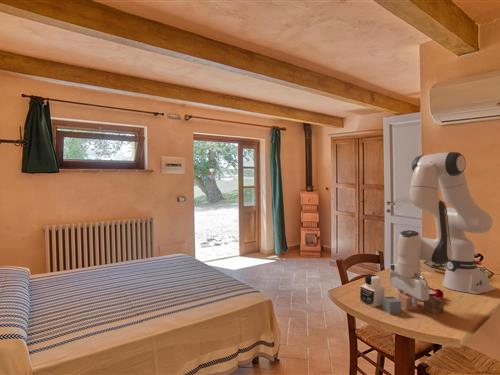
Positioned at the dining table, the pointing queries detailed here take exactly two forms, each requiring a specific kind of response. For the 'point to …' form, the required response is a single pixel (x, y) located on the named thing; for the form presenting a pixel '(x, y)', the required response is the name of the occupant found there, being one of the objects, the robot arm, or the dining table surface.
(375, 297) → the medicine bottle
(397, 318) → the dining table surface
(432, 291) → the alarm clock
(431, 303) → the walnut block
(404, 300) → the terracotta block
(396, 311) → the slate-grey block
